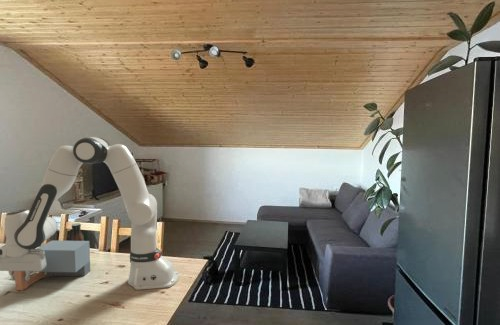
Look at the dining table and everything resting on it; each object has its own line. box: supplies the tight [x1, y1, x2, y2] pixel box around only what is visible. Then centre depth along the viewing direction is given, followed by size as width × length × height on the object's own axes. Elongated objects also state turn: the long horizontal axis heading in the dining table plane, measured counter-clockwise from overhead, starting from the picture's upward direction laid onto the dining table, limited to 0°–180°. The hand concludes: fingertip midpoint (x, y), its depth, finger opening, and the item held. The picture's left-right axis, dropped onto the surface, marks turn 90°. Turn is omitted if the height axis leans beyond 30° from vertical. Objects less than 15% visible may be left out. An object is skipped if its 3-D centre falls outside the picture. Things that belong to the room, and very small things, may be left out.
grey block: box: [34, 239, 91, 277], centre depth 137 cm, size 18×12×15 cm, turn 90°
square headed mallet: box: [14, 271, 46, 291], centre depth 130 cm, size 3×12×9 cm, turn 170°
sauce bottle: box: [69, 222, 85, 241], centre depth 154 cm, size 7×6×20 cm
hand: (21, 280), depth 126 cm, fingers closed on square headed mallet, 3 cm apart
